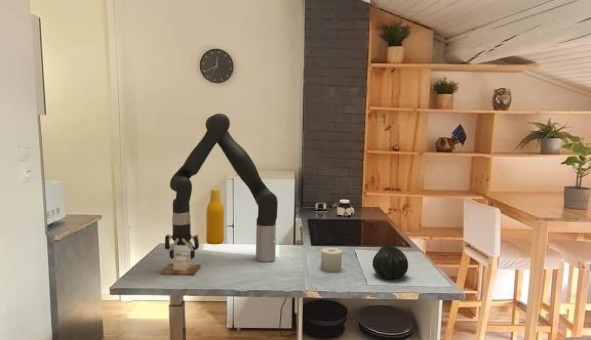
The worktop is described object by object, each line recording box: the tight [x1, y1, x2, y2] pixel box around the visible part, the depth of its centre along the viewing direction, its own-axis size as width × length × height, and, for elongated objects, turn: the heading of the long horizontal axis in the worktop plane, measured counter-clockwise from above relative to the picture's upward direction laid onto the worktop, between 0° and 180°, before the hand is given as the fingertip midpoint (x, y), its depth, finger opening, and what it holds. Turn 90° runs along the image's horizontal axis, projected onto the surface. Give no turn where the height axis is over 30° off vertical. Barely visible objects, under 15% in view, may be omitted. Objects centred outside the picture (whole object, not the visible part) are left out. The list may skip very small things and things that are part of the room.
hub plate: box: [160, 263, 202, 277], centre depth 180 cm, size 14×11×4 cm
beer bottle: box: [206, 188, 225, 245], centre depth 222 cm, size 9×9×29 cm
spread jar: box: [336, 199, 355, 216], centre depth 297 cm, size 12×11×12 cm
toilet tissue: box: [320, 247, 343, 273], centre depth 188 cm, size 9×13×9 cm
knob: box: [173, 252, 191, 271], centre depth 179 cm, size 6×6×6 cm
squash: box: [372, 243, 409, 280], centre depth 180 cm, size 14×15×15 cm
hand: (182, 258), depth 179 cm, fingers open, 8 cm apart
